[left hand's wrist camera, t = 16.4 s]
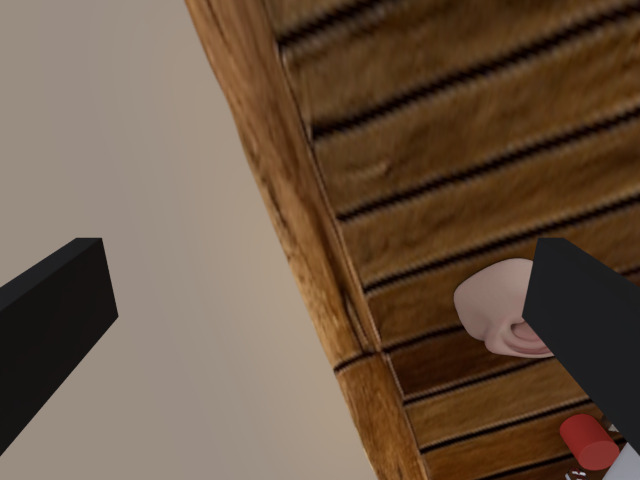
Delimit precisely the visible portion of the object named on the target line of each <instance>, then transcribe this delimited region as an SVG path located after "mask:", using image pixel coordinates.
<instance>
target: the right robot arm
mask: <svg viewBox="0 0 640 480" xmlns="http://www.w3.org/2000/svg"><path fill="white" fill-rule="evenodd" d="M601 422H602V423H604V425H605V427H606V428H607V429H608V430H610V431H617V432H619V431H618V430H617V429H616V428H615V427H614V425H613V424H612V423H611V422H610V421H609V420H608V418H607V417H606V416H605V415H604V414H603V416H602V418H601ZM565 476H566V478H567V480H589V478H588V477H587V476H586V475H585V472H584V471H583V470H582V469H580V468H574V467H571V468H570V469H569V471H568V472H567V474H566V475H565ZM602 480H640V456H639V455H638V454H637V453H636V451H635V450H634V449H633V448H632V447H631V445H630V444H629V443H628V442H627V444H626V445H625V446H624V448H623V449H622V451H621V452H620V454H619V455H618V457H617V458H616V460H615V461H614V463H613V464H612V466H611V467H610V469H609V470H608V472H607V473H606V475H605V476H604V478H603V479H602Z"/></svg>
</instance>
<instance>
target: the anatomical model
mask: <svg viewBox="0 0 640 480" xmlns="http://www.w3.org/2000/svg"><path fill="white" fill-rule="evenodd" d="M532 265H533V261H530V260H527V259H520V258H518V259H508V260H505V261H501V262H498V263H496V264H493V265H491V266H489V267H487V268H485V269H483V270H481V271H480V272H478V273H476V274H475V275H473V276H471V277H470V278H468V279H467V280H466V281H464V282H463V283H462V284H461V285H460V286H459V287H458V288H457V289H456V291H455V293H454V303H455V307H456V310H457V313H458V315H459V318H460V320H461V322H462V324H463V325H464V327H465V329H466V330H467V332H468V333H469V334H470V335H471V336H472V337H474V338H476V339H479V340H483V341H485V345H486V347H487V349H488V350H489V351H491V352H493V353H496V354H503V355H511V356H519V357H528V358H542V357H549V356H554V355H553V353H552V352H551V351H550V350H549V349H548V347H547V346H546V345H545V344H544V343H543V342H542V340H541V339H540V338H539V337H538V336H537V334H536V333H535V332H534V331H533V330H532V329H531V327H530V326H529V325H528V324H527V323H526V321H525V320H524V319H523V318H522V312H523V307H524V302H525V298H526V293H527V288H528V283H529V279H530V274H531V269H532Z"/></svg>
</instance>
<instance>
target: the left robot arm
mask: <svg viewBox="0 0 640 480" xmlns="http://www.w3.org/2000/svg"><path fill="white" fill-rule="evenodd" d="M117 318H118V312H117V307H116V302H115V298H114V293H113V288H112V283H111V279H110V274H109V269H108V265H107V260H106V255H105V250H104V246H103V241H102V238H75V239H74V240H72V241H71V242H69V243H68V244H66V245H65V246H63V247H62V248H60V249H59V250H57V251H55V252H54V253H52V254H51V255H49V256H48V257H46V258H45V259H43V260H42V261H40V262H39V263H37V264H36V265H34V266H32V267H31V268H29V269H28V270H26V271H25V272H23V273H22V274H20V275H19V276H17V277H16V278H14V279H13V280H11V281H10V282H8V283H7V284H5V285H3V286H2V287H0V456H1V455H2V454H3V453H4V451H5V450H6V449H7V448H8V447H9V445H10V444H11V443H12V442H13V441H14V440H15V438H16V437H17V436H18V435H19V434H20V432H21V431H22V430H23V429H24V428H25V427H26V425H27V424H28V423H29V422H30V421H31V419H32V418H33V417H34V416H35V415H36V414H37V412H38V411H39V410H40V409H41V408H42V407H43V405H44V404H45V403H46V402H47V400H48V399H49V398H50V397H51V396H52V395H53V393H54V392H55V391H56V390H57V389H58V388H59V386H60V385H61V384H62V383H63V382H64V381H65V379H66V378H67V377H68V376H69V375H70V373H71V372H72V371H73V370H74V369H75V368H76V366H77V365H78V364H79V363H80V362H81V360H82V359H83V358H84V357H85V356H86V354H87V353H88V352H89V351H90V350H91V349H92V347H93V346H94V345H95V344H96V343H97V341H98V340H99V339H100V338H101V337H102V336H103V334H104V333H105V332H106V331H107V330H108V328H109V327H110V326H111V325H112V324H113V323H114V321H115V320H116V319H117ZM522 318H523V319H524V320H525V321H526V323H527V324H528V325H529V326H530V327H531V329H532V330H533V331H534V332H535V333H536V334H537V336H538V337H539V338H540V339H541V340H542V342H543V343H544V344H545V345H546V346H547V347H548V349H549V350H550V351H551V352H552V353H553V355H554V356H555V357H556V358H557V359H558V360H559V362H560V363H561V364H562V365H563V366H564V368H565V369H566V370H567V371H568V372H569V373H570V375H571V376H572V377H573V378H574V379H575V381H576V382H577V383H578V384H579V385H580V386H581V388H582V389H583V390H584V391H585V392H586V394H587V395H588V396H589V397H590V398H591V399H592V401H593V402H594V403H595V404H596V405H597V407H598V408H599V409H600V410H601V411H602V412H603V414H604V415H605V416H606V417H607V418H608V420H609V421H610V422H611V423H612V424H613V425H614V427H615V428H616V429H617V430H618V431H619V432H620V434H621V435H622V436H623V437H624V438H625V440H626V441H627V442H628V443H629V444H630V445H631V447H632V448H633V449H634V450H635V451H636V453H637V454H638V455H639V456H640V287H638V286H637V285H635V284H634V283H632V282H630V281H629V280H627V279H626V278H624V277H623V276H621V275H620V274H618V273H617V272H615V271H614V270H612V269H611V268H609V267H608V266H606V265H604V264H603V263H601V262H600V261H598V260H597V259H595V258H594V257H592V256H591V255H589V254H588V253H586V252H585V251H583V250H582V249H580V248H578V247H577V246H575V245H574V244H572V243H571V242H569V241H568V240H566V239H565V238H538V241H537V246H536V250H535V255H534V260H533V265H532V269H531V274H530V279H529V283H528V288H527V293H526V298H525V302H524V307H523V312H522Z"/></svg>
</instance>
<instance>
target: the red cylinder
mask: <svg viewBox="0 0 640 480" xmlns="http://www.w3.org/2000/svg"><path fill="white" fill-rule="evenodd" d="M560 435H561V437H562V438H563V440H564V441H565V443H566V444H567V446H568V447H569V449H570V450H571V452H572V453H573V455H574V456H575V458H576V459H577V461H578V462H579V464H580V465H581V466H582V467H583V468H585V469H588V470H601V469H604V468H607V467H609V466H610V465H612V464H613V463H614V461H615V460H616V458H617V457H618V455H619V448H618V446H617V445H616V444H615V443H614V441H613V440H612V439H611V438H610V436H609V435H608V434H607V433H606V431H605V430H604V429H603V428H602V426H601V425H600V424H599V423H598V422H597V420H596V419H595V418H594V417H592V416H591V415H587V414H578V415H574V416H571V417H569V418H568V419H566V420H565V421H564V422H563V423H562V425H561V427H560Z"/></svg>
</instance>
